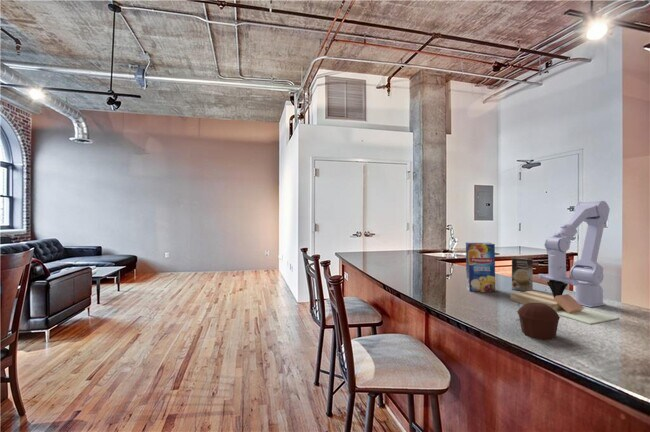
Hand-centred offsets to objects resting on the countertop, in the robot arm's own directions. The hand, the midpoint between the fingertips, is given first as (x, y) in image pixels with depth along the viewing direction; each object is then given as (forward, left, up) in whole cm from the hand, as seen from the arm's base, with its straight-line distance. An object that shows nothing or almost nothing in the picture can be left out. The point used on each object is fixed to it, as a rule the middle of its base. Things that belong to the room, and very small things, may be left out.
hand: (557, 299), depth 125 cm
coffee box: (-15, -28, -4) cm, 32 cm away
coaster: (0, +4, -1) cm, 4 cm away
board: (0, -7, -4) cm, 8 cm away
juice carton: (+5, -35, -4) cm, 35 cm away
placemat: (0, +10, -4) cm, 10 cm away
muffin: (+33, +16, -4) cm, 37 cm away
